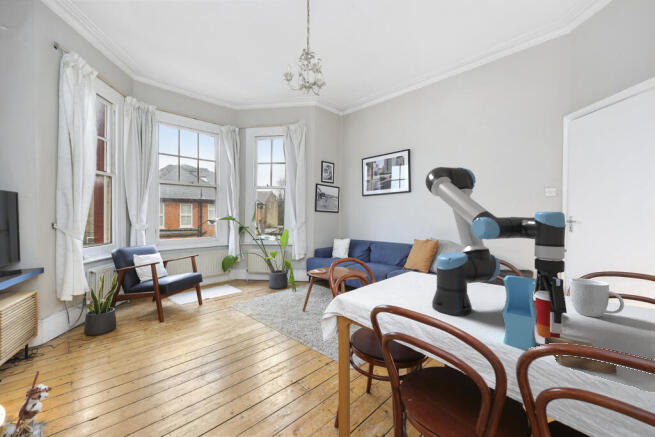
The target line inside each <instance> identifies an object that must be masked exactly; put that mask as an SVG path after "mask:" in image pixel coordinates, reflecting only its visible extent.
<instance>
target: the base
mask: <svg viewBox="0 0 655 437" xmlns="http://www.w3.org/2000/svg"><path fill="white" fill-rule="evenodd" d="M549 343H568V344H578V345H586V346H592V347H596V346H595V345H594V344H593V343H592V342H589V341H582V340H575V339H567V338H566V339H565V338H561V337H560V338H554V337H547V338H544V345H545V344H549ZM552 356H553V357H554V359H556V361H557V362H558V363H559V364H560V365H561V366H566V367H571V368H577V369H578V368H579V369H583V370H589V371H596V372H601V373H607V374H613V375H617V364H616V365H614V364H610V363H606V362H601V361H597V360H592V359H587V358H581V357H574V356H563V355H558V356H556V355H552Z"/></svg>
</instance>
